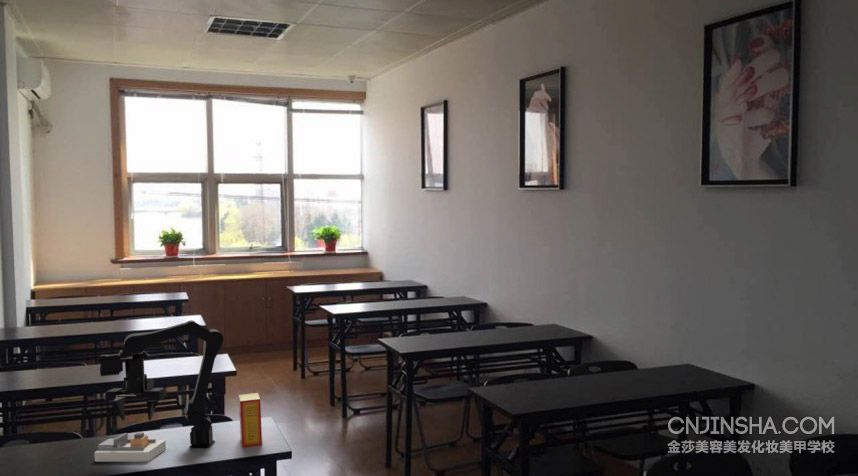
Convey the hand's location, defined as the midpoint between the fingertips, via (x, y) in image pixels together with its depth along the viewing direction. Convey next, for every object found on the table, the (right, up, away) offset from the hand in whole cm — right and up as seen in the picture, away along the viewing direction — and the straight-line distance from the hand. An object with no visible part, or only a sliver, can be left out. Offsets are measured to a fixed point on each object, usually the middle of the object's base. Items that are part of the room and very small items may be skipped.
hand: (136, 420), depth 231 cm
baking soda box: (+35, -10, +10) cm, 38 cm away
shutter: (-8, -9, +1) cm, 12 cm away
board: (-2, -12, 0) cm, 12 cm away
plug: (+1, -12, 0) cm, 12 cm away
